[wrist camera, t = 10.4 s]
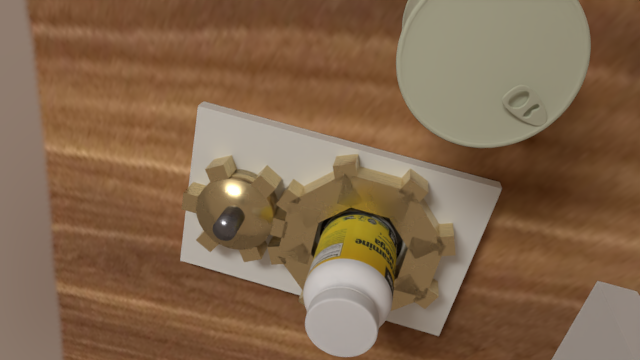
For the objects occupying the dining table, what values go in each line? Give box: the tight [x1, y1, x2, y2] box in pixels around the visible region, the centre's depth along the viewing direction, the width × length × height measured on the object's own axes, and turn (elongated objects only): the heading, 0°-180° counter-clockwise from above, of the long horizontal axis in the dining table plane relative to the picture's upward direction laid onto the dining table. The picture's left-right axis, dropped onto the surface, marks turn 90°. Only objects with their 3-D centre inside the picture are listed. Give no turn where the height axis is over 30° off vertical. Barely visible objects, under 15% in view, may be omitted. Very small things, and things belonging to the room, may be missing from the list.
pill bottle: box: [303, 209, 397, 357], centre depth 38 cm, size 6×6×11 cm
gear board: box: [180, 102, 502, 336], centre depth 44 cm, size 15×24×1 cm, turn 77°
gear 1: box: [182, 155, 288, 262], centre depth 42 cm, size 8×9×4 cm
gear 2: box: [267, 154, 456, 311], centre depth 42 cm, size 14×14×2 cm
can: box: [396, 0, 591, 148], centre depth 30 cm, size 9×9×12 cm
